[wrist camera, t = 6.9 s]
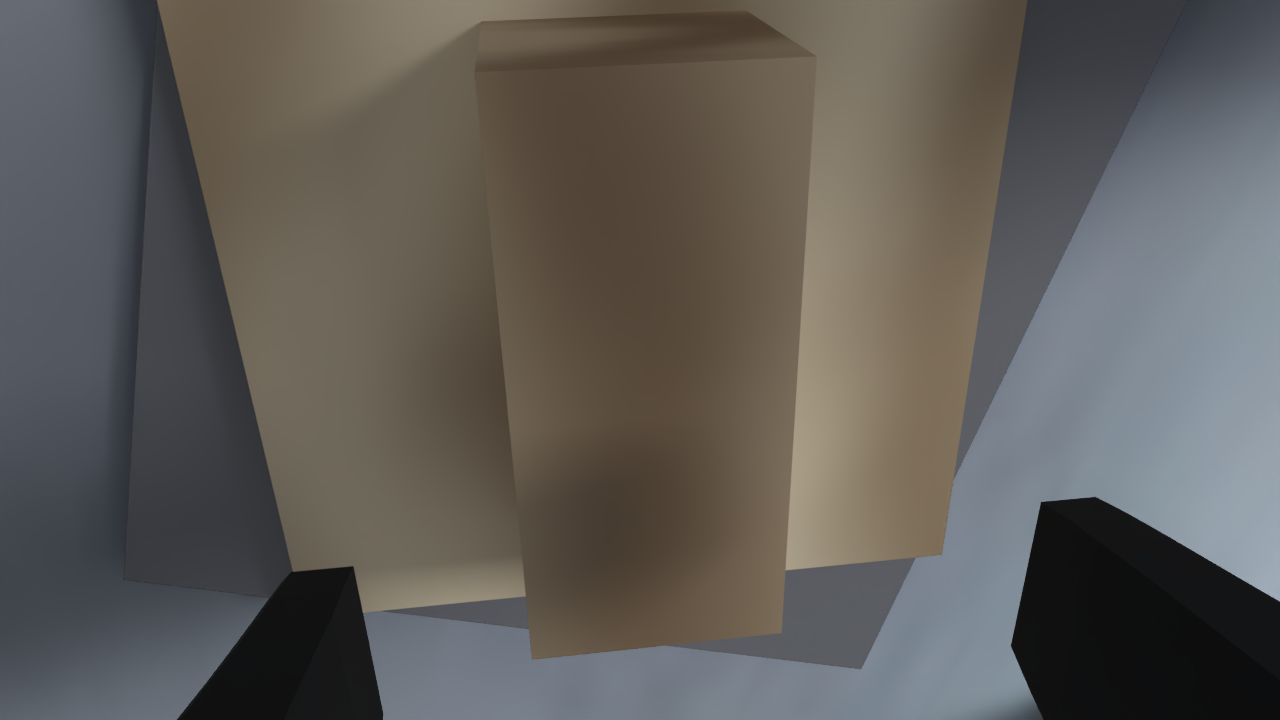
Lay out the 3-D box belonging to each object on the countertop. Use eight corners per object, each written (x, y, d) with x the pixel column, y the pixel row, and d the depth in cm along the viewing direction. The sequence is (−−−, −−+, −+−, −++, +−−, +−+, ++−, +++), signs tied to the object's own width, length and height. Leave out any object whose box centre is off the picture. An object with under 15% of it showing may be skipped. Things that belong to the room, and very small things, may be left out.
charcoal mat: (1190, -48, 17) (1209, -45, 16) (854, 653, 23) (861, 669, 23) (191, -384, 13) (179, -392, 12) (132, 563, 20) (123, 579, 19)
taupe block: (1024, -145, 15) (1216, -144, 11) (927, 531, 21) (1027, 692, 17) (147, -123, 14) (-1, -112, 10) (311, 590, 20) (261, 780, 16)
